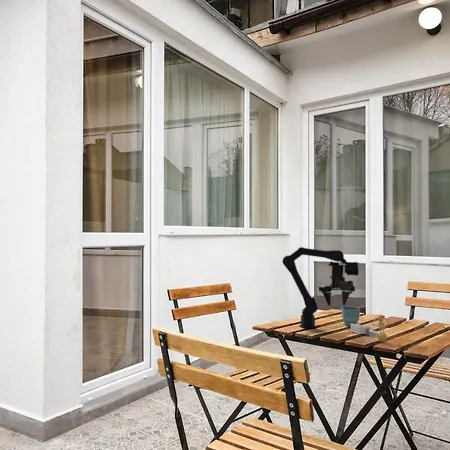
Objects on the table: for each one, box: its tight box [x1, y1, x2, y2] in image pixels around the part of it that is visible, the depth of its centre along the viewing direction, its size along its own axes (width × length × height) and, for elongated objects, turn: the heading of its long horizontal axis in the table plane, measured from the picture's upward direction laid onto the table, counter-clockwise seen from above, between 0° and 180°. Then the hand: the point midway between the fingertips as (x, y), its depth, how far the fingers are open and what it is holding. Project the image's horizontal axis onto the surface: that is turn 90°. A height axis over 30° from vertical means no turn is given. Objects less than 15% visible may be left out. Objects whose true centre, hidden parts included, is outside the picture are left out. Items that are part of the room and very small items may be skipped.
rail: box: [349, 324, 380, 338], centre depth 230 cm, size 6×20×3 cm, turn 23°
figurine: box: [372, 314, 391, 343], centre depth 211 cm, size 8×6×12 cm
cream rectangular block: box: [350, 323, 368, 335], centre depth 229 cm, size 7×4×4 cm, turn 26°
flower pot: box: [340, 306, 361, 326], centre depth 251 cm, size 9×9×9 cm
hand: (336, 305), depth 238 cm, fingers open, 9 cm apart
